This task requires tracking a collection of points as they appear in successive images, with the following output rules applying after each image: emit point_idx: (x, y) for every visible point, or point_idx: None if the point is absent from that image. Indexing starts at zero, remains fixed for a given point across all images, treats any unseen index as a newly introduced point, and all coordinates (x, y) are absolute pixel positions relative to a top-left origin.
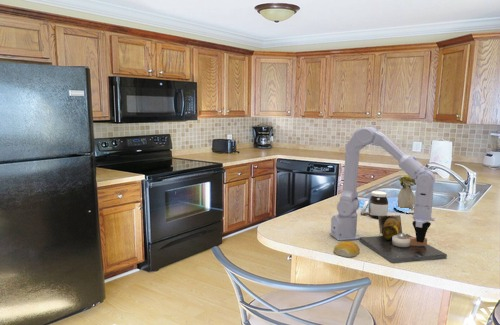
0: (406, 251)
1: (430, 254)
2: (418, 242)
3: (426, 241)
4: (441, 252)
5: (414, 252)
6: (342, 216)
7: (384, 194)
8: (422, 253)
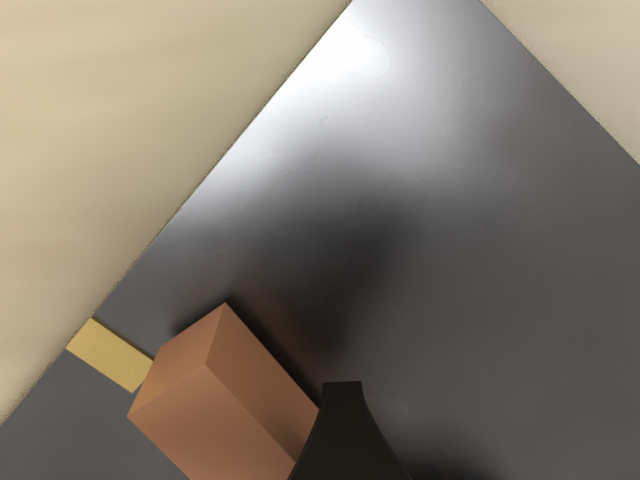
0: (632, 465)
1: (586, 178)
2: (309, 433)
3: (222, 346)
4: (372, 35)
5: (619, 380)
6: None
7: None
8: (606, 285)
